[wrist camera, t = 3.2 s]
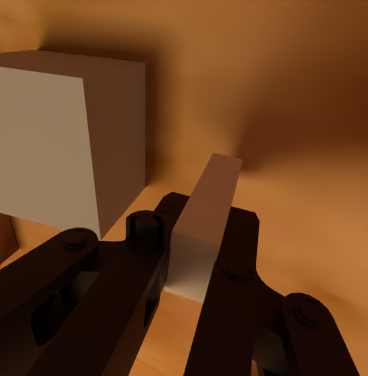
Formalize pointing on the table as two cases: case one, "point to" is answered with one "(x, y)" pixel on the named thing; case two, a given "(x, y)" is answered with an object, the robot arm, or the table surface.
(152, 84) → the table surface
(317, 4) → the table surface
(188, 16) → the table surface
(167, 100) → the table surface
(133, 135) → the block
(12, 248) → the brown wooden bar
